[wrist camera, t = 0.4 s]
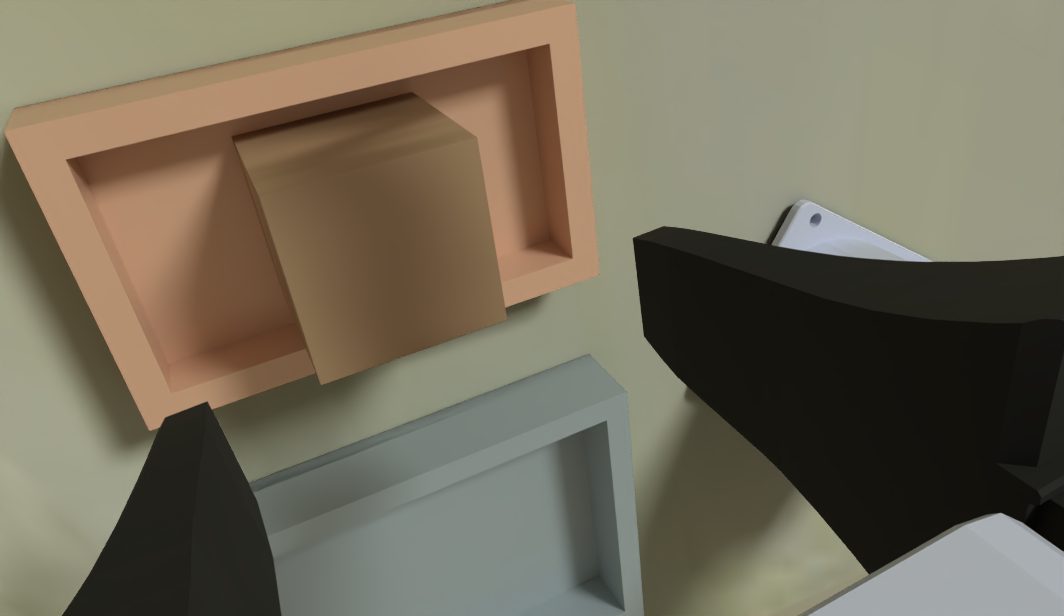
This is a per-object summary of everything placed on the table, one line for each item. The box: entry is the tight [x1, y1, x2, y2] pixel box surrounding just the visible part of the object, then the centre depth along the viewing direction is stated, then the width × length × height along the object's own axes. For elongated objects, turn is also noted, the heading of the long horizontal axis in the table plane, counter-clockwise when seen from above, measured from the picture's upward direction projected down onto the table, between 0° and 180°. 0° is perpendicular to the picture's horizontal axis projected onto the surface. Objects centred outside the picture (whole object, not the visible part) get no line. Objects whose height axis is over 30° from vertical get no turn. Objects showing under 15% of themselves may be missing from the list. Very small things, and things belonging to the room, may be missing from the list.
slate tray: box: [249, 354, 644, 616], centre depth 27 cm, size 15×11×2 cm
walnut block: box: [231, 92, 507, 385], centre depth 19 cm, size 4×4×4 cm
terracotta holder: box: [4, 0, 600, 431], centre depth 20 cm, size 13×8×2 cm, turn 98°
